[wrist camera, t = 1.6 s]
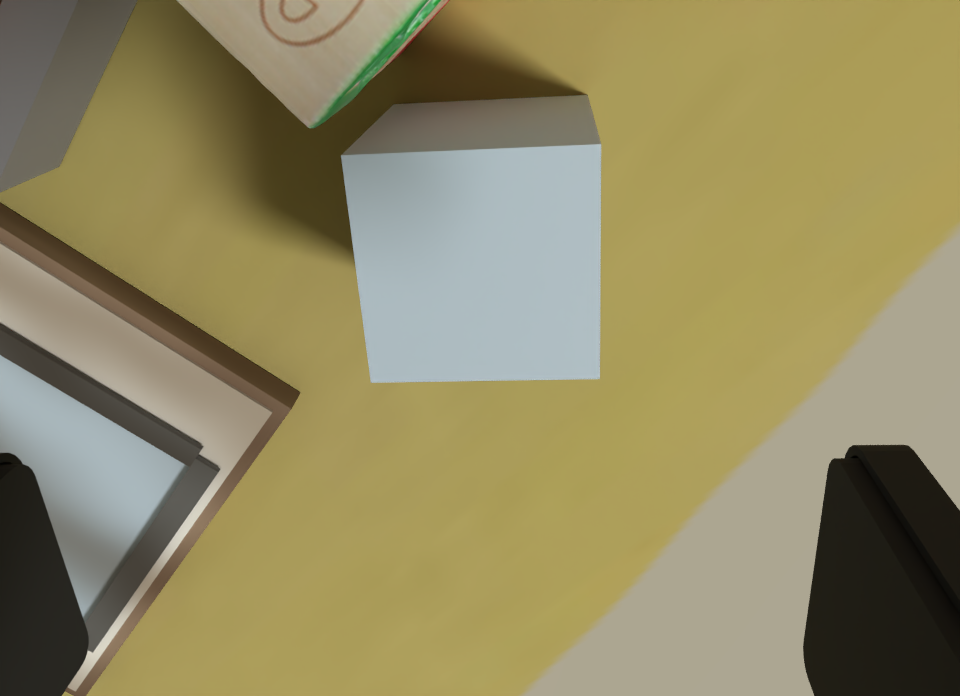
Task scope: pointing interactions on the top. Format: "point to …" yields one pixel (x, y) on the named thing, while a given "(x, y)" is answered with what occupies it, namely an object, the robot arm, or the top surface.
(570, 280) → the blue block
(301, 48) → the stack of blocks
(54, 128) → the button housing
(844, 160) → the top surface
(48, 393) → the picture board
